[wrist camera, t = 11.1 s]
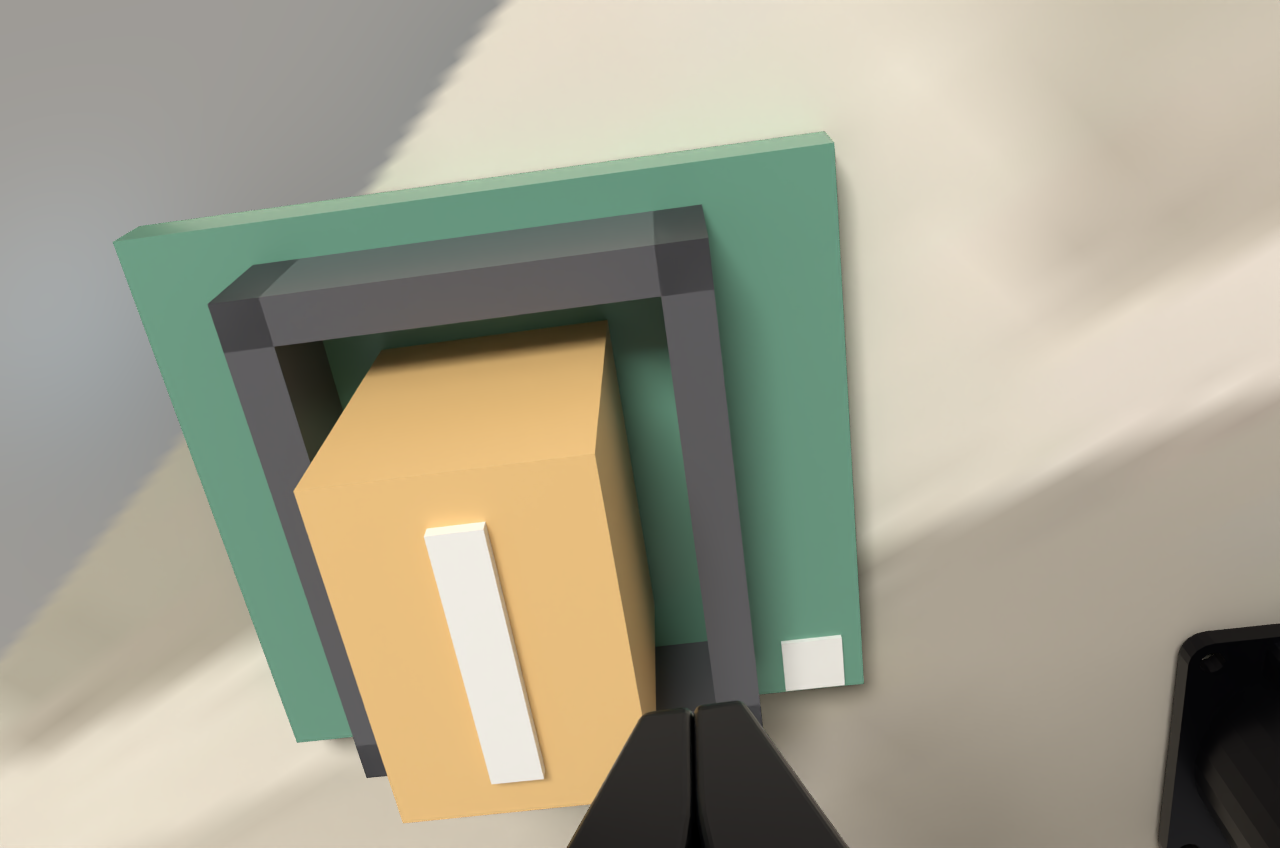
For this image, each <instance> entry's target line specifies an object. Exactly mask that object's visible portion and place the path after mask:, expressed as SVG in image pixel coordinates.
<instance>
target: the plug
mask: <svg viewBox="0 0 1280 848" xmlns="http://www.w3.org/2000/svg"><path fill="white" fill-rule="evenodd" d="M293 492H294V495H295V498H296V501H297V504H298V507H299V510H300V513H301V516H302V519H303V522H304V525H305V528H306V531H307V534H308V537H309V540H310V543H311V546H312V549H313V552H314V555H315V558H316V561H317V564H318V567H319V570H320V573H321V576H322V579H323V582H324V585H325V588H326V591H327V594H328V597H329V600H330V604H331V607H332V610H333V613H334V616H335V619H336V622H337V625H338V628H339V631H340V634H341V637H342V640H343V643H344V646H345V649H346V652H347V655H348V658H349V661H350V664H351V667H352V670H353V673H354V676H355V679H356V682H357V685H358V688H359V691H360V694H361V697H362V700H363V703H364V706H365V709H366V712H367V715H368V718H369V722H370V725H371V728H372V731H373V734H374V737H375V740H376V743H377V746H378V749H379V752H380V755H381V758H382V761H383V764H384V767H385V770H386V773H387V776H388V779H389V782H390V785H391V788H392V791H393V794H394V797H395V800H396V803H397V806H398V809H399V812H400V815H401V818H402V821H403V823H410V822H420V821H430V820H440V819H450V818H460V817H469V816H479V815H489V814H499V813H509V812H519V811H528V810H538V809H548V808H558V807H568V806H578V805H588V804H592V802H593V800H594V798H595V797H596V795H597V793H598V791H599V789H600V788H601V786H602V784H603V782H604V781H605V779H606V777H607V775H608V773H609V772H610V770H611V768H612V766H613V765H614V763H615V761H616V759H617V757H618V756H619V754H620V752H621V750H622V749H623V747H624V745H625V743H626V741H627V740H628V738H629V736H630V734H631V733H632V731H633V729H634V727H635V725H636V724H637V722H638V720H639V719H640V717H641V716H642V715H643V714H645V713H647V712H652V711H656V675H655V604H654V598H653V592H652V586H651V580H650V574H649V568H648V561H647V555H646V549H645V543H644V537H643V531H642V525H641V519H640V513H639V507H638V501H637V495H636V489H635V483H634V477H633V471H632V464H631V458H630V452H629V446H628V440H627V434H626V428H625V422H624V416H623V410H622V404H621V398H620V392H619V386H618V380H617V373H616V367H615V361H614V355H613V349H612V343H611V337H610V331H609V325H608V320H603V321H596V322H588V323H581V324H573V325H565V326H558V327H550V328H543V329H535V330H528V331H520V332H513V333H505V334H498V335H490V336H483V337H475V338H468V339H460V340H453V341H445V342H437V343H430V344H422V345H415V346H407V347H400V348H392V349H385V350H381V351H380V353H379V355H378V356H377V358H376V360H375V361H374V363H373V364H372V366H371V368H370V369H369V371H368V372H367V374H366V376H365V377H364V379H363V380H362V382H361V384H360V385H359V387H358V388H357V390H356V392H355V393H354V395H353V396H352V398H351V400H350V401H349V403H348V404H347V406H346V408H345V409H344V411H343V412H342V414H341V416H340V417H339V419H338V421H337V422H336V424H335V425H334V427H333V429H332V430H331V432H330V433H329V435H328V437H327V438H326V440H325V441H324V443H323V445H322V446H321V448H320V449H319V451H318V453H317V454H316V456H315V457H314V459H313V461H312V462H311V464H310V465H309V467H308V469H307V470H306V472H305V473H304V475H303V477H302V478H301V480H300V482H299V483H298V485H297V486H296V488H295V490H294V491H293Z"/></svg>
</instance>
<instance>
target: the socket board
mask: <svg viewBox="0 0 1280 848" xmlns="http://www.w3.org/2000/svg"><path fill="white" fill-rule="evenodd" d="M113 244H114V247H115V249H116V252H117V255H118V257H119V260H120V263H121V265H122V268H123V271H124V274H125V277H126V279H127V282H128V285H129V287H130V290H131V293H132V296H133V298H134V301H135V304H136V306H137V309H138V312H139V314H140V317H141V320H142V323H143V325H144V328H145V331H146V334H147V336H148V339H149V342H150V345H151V347H152V350H153V352H154V355H155V358H156V361H157V364H158V366H159V369H160V372H161V374H162V377H163V380H164V383H165V385H166V388H167V391H168V393H169V396H170V398H171V401H172V404H173V407H174V410H175V412H176V415H177V418H178V421H179V423H180V426H181V429H182V431H183V434H184V437H185V440H186V442H187V445H188V448H189V450H190V453H191V456H192V459H193V461H194V464H195V467H196V469H197V472H198V475H199V478H200V480H201V483H202V486H203V488H204V491H205V494H206V497H207V499H208V502H209V505H210V507H211V510H212V513H213V516H214V518H215V521H216V524H217V526H218V529H219V532H220V535H221V537H222V540H223V543H224V545H225V548H226V551H227V554H228V556H229V559H230V562H231V564H232V567H233V570H234V573H235V575H236V578H237V581H238V583H239V586H240V589H241V592H242V594H243V597H244V600H245V602H246V605H247V608H248V611H249V613H250V616H251V619H252V621H253V624H254V627H255V630H256V632H257V635H258V638H259V640H260V643H261V646H262V649H263V651H264V654H265V657H266V659H267V662H268V665H269V668H270V670H271V673H272V676H273V678H274V681H275V684H276V687H277V689H278V692H279V695H280V697H281V700H282V703H283V706H284V708H285V711H286V714H287V716H288V719H289V722H290V725H291V727H292V730H293V733H294V735H295V738H296V741H297V743H299V742H308V741H318V740H327V739H337V738H347V737H353V739H354V742H355V745H356V748H357V751H358V754H359V757H360V760H361V763H362V765H363V768H364V771H365V774H366V777H367V778H371V777H381V776H387V773H386V770H385V767H384V764H383V761H382V758H381V755H380V752H379V749H378V746H377V743H376V740H375V737H374V734H373V731H372V728H371V725H370V722H369V718H368V715H367V712H366V709H365V706H364V703H363V700H362V697H361V694H360V691H359V688H358V685H357V682H356V679H355V676H354V673H353V670H352V667H351V664H350V661H349V658H348V655H347V652H346V649H345V646H344V643H343V640H342V637H341V634H340V631H339V628H338V625H337V622H336V619H335V616H334V613H333V610H332V607H331V604H330V600H329V597H328V594H327V591H326V588H325V585H324V582H323V579H322V576H321V573H320V570H319V567H318V564H317V561H316V558H315V555H314V552H313V549H312V546H311V543H310V540H309V537H308V534H307V531H306V528H305V525H304V522H303V519H302V516H301V513H300V510H299V507H298V504H297V501H296V498H295V495H294V492H293V491H294V490H295V488H296V486H297V485H298V483H299V482H300V480H301V478H302V477H303V475H304V473H305V472H306V470H307V469H308V467H309V465H310V464H311V462H312V461H313V459H314V457H315V456H316V454H317V453H318V451H319V449H320V448H321V446H322V445H323V443H324V441H325V440H326V438H327V437H328V435H329V433H330V432H331V430H332V429H333V427H334V425H335V424H336V422H337V421H338V419H339V417H340V416H341V414H342V412H343V411H344V409H345V408H346V406H347V404H348V403H349V401H350V400H351V398H352V396H353V395H354V393H355V392H356V390H357V388H358V387H359V385H360V384H361V382H362V380H363V379H364V377H365V376H366V374H367V372H368V371H369V369H370V368H371V366H372V364H373V363H374V361H375V360H376V358H377V356H378V355H379V353H380V351H381V350H385V349H392V348H400V347H407V346H415V345H422V344H430V343H437V342H445V341H453V340H460V339H468V338H475V337H483V336H490V335H498V334H505V333H513V332H520V331H528V330H535V329H543V328H550V327H558V326H565V325H573V324H581V323H588V322H596V321H603V320H608V325H609V331H610V337H611V343H612V349H613V355H614V361H615V367H616V373H617V380H618V386H619V392H620V398H621V404H622V410H623V416H624V422H625V428H626V434H627V440H628V446H629V452H630V458H631V464H632V471H633V477H634V483H635V489H636V495H637V501H638V507H639V513H640V519H641V525H642V531H643V537H644V543H645V549H646V555H647V561H648V568H649V574H650V580H651V586H652V592H653V598H654V604H655V675H656V711H659V710H667V709H674V708H682V707H685V708H688V709H690V710H691V712H692V713H693V715H694V711H695V709H696V708H697V707H698V706H700V705H704V704H712V703H720V702H727V701H735V700H737V701H741V702H743V703H744V704H745V705H746V706H747V707H748V708H749V709H750V711H751V712H752V714H753V715H754V716H755V718H756V719H757V720H758V722H759V723H760V725H761V726H762V727H763V724H762V715H761V706H760V697H759V695H760V694H769V693H779V692H789V691H798V690H808V689H817V688H827V687H837V686H846V685H856V684H864V678H863V660H862V642H861V623H860V605H859V587H858V569H857V550H856V532H855V514H854V496H853V477H852V459H851V441H850V423H849V404H848V386H847V368H846V350H845V331H844V313H843V295H842V277H841V258H840V240H839V222H838V204H837V185H836V167H835V149H834V142H833V141H832V140H831V138H830V137H829V136H828V135H827V134H826V133H825V132H824V131H823V132H816V133H809V134H802V135H794V136H787V137H780V138H773V139H766V140H758V141H751V142H744V143H737V144H729V145H722V146H715V147H708V148H701V149H693V150H686V151H679V152H672V153H664V154H657V155H650V156H643V157H636V158H628V159H621V160H614V161H607V162H599V163H592V164H585V165H578V166H571V167H563V168H556V169H549V170H542V171H535V172H527V173H520V174H513V175H506V176H498V177H491V178H484V179H477V180H470V181H462V182H455V183H448V184H441V185H433V186H426V187H419V188H412V189H405V190H397V191H390V192H383V193H376V194H368V195H361V196H354V197H347V198H340V199H332V200H325V201H318V202H311V203H304V204H296V205H289V206H283V207H276V208H267V209H260V210H253V211H246V212H239V213H231V214H224V215H217V216H210V217H203V218H196V219H188V220H181V221H174V222H166V223H159V224H152V225H145V226H139V227H137V228H136V229H134V230H132V231H130V232H129V233H127V234H125V235H124V236H122V237H120V238H119V239H117V240H116V241H114V242H113Z"/></svg>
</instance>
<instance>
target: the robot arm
mask: <svg viewBox="0 0 1280 848" xmlns="http://www.w3.org/2000/svg"><path fill="white" fill-rule="evenodd" d="M1211 653H1214V654H1213V655H1212V656H1211V657H1210V658H1208V659H1205V660H1202V659H1203V658H1204V657H1205V656H1206V655H1208V654H1211ZM1158 841H1159V846H1160V848H1280V624H1271V625H1262V626H1252V627H1243V628H1233V629H1224V630H1214V631H1205V632H1201V633H1197V634H1195V635H1193V636H1192V637H1190V638H1188V639H1187V640H1186V641H1185V642H1184V644H1183V645H1182V646H1181V649H1180V652H1179V658H1178V667H1177V676H1176V685H1175V694H1174V703H1173V712H1172V721H1171V730H1170V739H1169V748H1168V757H1167V766H1166V775H1165V784H1164V793H1163V802H1162V811H1161V820H1160V829H1159V838H1158ZM567 848H849V847H848V846H847V844H846V843H845V842H844V840H843V839H842V837H841V836H840V835H839V833H838V832H837V830H836V829H835V828H834V826H833V825H832V824H831V822H830V821H829V819H828V818H827V817H826V815H825V814H824V812H823V811H822V810H821V808H820V807H819V805H818V804H817V803H816V801H815V800H814V798H813V797H812V796H811V794H810V793H809V791H808V790H807V789H806V787H805V786H804V785H803V783H802V782H801V780H800V779H799V778H798V776H797V775H796V773H795V772H794V771H793V769H792V768H791V766H790V765H789V764H788V762H787V761H786V759H785V758H784V757H783V755H782V754H781V753H780V751H779V750H778V748H777V747H776V746H775V744H774V743H773V741H772V740H771V739H770V737H769V736H768V734H767V733H766V732H765V730H764V729H763V727H762V726H761V725H760V723H759V722H758V720H757V719H756V718H755V716H754V715H753V714H752V712H751V711H750V709H749V708H748V707H747V706H746V705H745V704H744V703H743V702H741V701H737V700H735V701H727V702H720V703H712V704H704V705H700V706H698V707H697V708H696V709H695V711H694V715H693V713H692V712H691V710H690V709H688V708H685V707H682V708H674V709H667V710H659V711H652V712H647V713H645V714H643V715H642V716H641V717H640V719H639V720H638V722H637V724H636V725H635V727H634V729H633V731H632V733H631V734H630V736H629V738H628V740H627V741H626V743H625V745H624V747H623V749H622V750H621V752H620V754H619V756H618V757H617V759H616V761H615V763H614V765H613V766H612V768H611V770H610V772H609V773H608V775H607V777H606V779H605V781H604V782H603V784H602V786H601V788H600V789H599V791H598V793H597V795H596V797H595V798H594V800H593V802H592V804H591V805H590V807H589V809H588V811H587V813H586V814H585V816H584V818H583V820H582V821H581V823H580V825H579V827H578V829H577V830H576V832H575V834H574V836H573V837H572V839H571V841H570V843H569V845H568V846H567Z"/></svg>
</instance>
